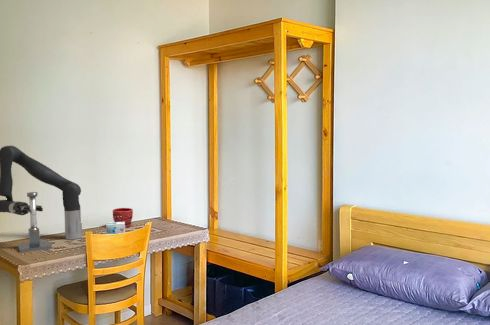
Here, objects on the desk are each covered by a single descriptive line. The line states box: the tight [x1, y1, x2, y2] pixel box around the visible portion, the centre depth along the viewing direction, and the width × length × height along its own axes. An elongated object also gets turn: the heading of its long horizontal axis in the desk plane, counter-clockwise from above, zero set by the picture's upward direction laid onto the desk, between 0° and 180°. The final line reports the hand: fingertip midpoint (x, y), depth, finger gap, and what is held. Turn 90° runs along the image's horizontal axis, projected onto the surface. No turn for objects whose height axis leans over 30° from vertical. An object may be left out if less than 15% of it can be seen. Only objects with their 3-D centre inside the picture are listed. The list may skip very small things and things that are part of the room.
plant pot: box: [112, 207, 134, 229], centre depth 312 cm, size 13×13×12 cm
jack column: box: [26, 191, 38, 230], centre depth 258 cm, size 5×5×24 cm
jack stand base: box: [17, 227, 53, 253], centre depth 259 cm, size 16×16×10 cm
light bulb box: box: [105, 221, 126, 234], centre depth 272 cm, size 11×7×11 cm, turn 105°
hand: (34, 210), depth 256 cm, fingers open, 8 cm apart
